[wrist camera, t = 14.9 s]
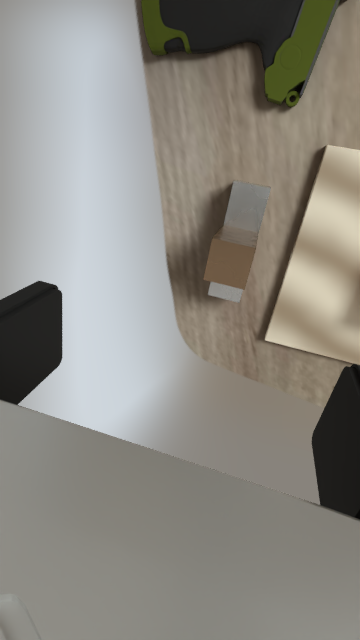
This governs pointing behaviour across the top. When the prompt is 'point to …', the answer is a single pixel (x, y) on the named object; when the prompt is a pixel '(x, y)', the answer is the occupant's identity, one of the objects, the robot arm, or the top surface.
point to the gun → (246, 34)
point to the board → (325, 266)
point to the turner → (236, 241)
